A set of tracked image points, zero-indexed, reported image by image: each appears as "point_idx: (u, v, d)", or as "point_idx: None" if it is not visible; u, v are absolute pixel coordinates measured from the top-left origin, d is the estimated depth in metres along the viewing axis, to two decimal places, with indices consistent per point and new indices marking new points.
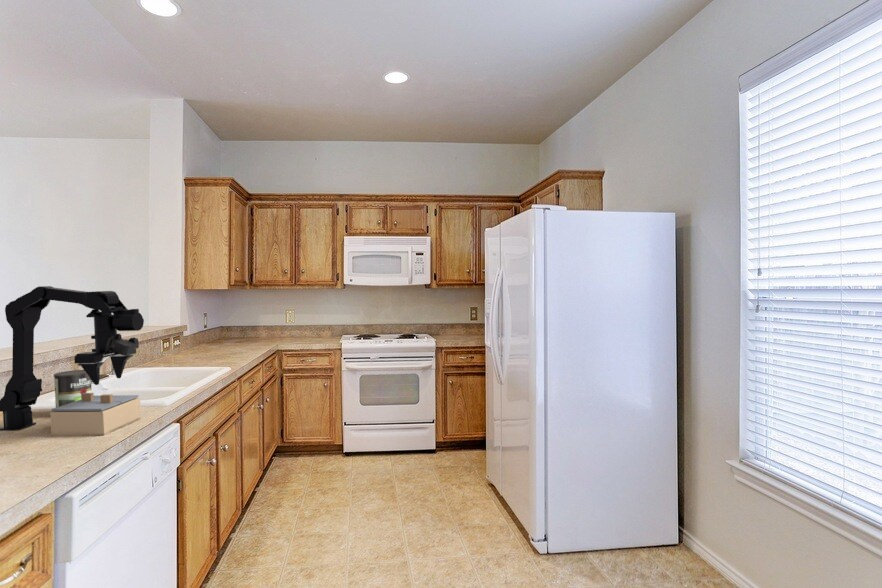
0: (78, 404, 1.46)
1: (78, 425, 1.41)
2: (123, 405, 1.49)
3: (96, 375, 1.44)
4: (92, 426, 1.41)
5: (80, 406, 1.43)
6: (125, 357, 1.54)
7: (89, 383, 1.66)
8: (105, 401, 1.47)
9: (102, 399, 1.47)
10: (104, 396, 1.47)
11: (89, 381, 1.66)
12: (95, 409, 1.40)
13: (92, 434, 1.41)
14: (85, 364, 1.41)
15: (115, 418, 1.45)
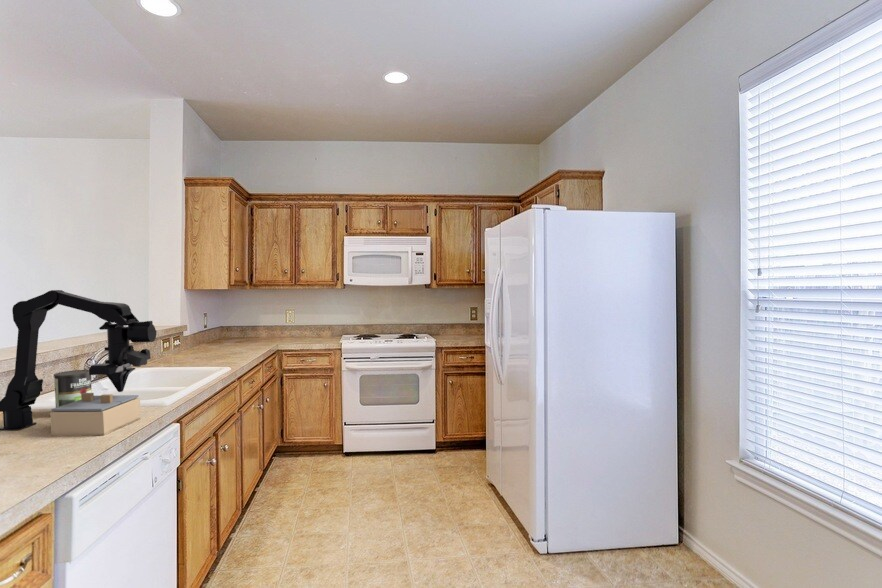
0: (78, 404, 1.46)
1: (78, 425, 1.41)
2: (123, 405, 1.49)
3: (120, 383, 1.52)
4: (92, 426, 1.41)
5: (80, 406, 1.43)
6: (127, 370, 1.54)
7: (89, 383, 1.66)
8: (105, 401, 1.47)
9: (102, 399, 1.47)
10: (104, 396, 1.47)
11: (89, 381, 1.66)
12: (95, 409, 1.40)
13: (92, 434, 1.41)
14: None
15: (115, 418, 1.45)
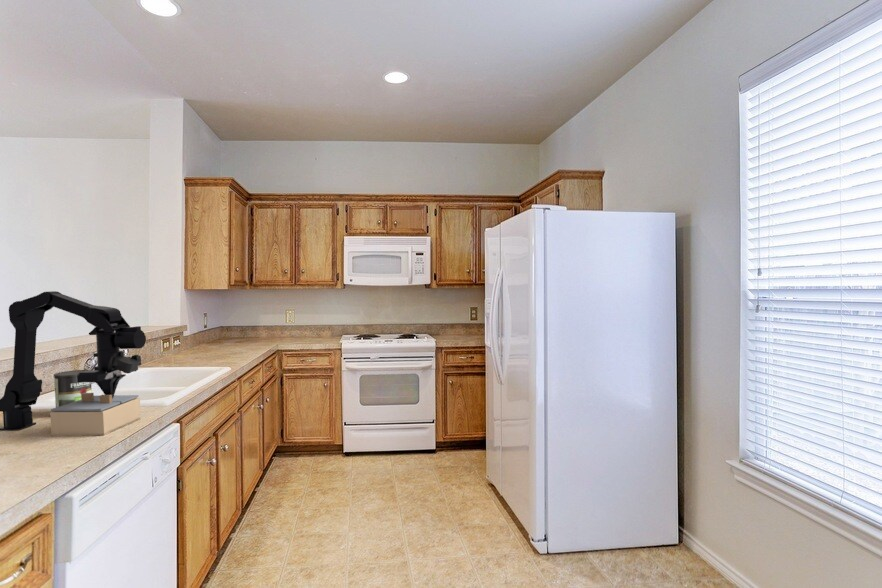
0: (77, 404, 1.45)
1: (78, 425, 1.41)
2: (123, 405, 1.49)
3: (109, 390, 1.47)
4: (92, 426, 1.41)
5: (79, 406, 1.43)
6: (117, 377, 1.49)
7: (89, 383, 1.66)
8: (104, 401, 1.46)
9: (101, 399, 1.46)
10: (103, 396, 1.46)
11: None
12: (94, 409, 1.40)
13: (92, 434, 1.41)
14: None
15: (115, 418, 1.45)
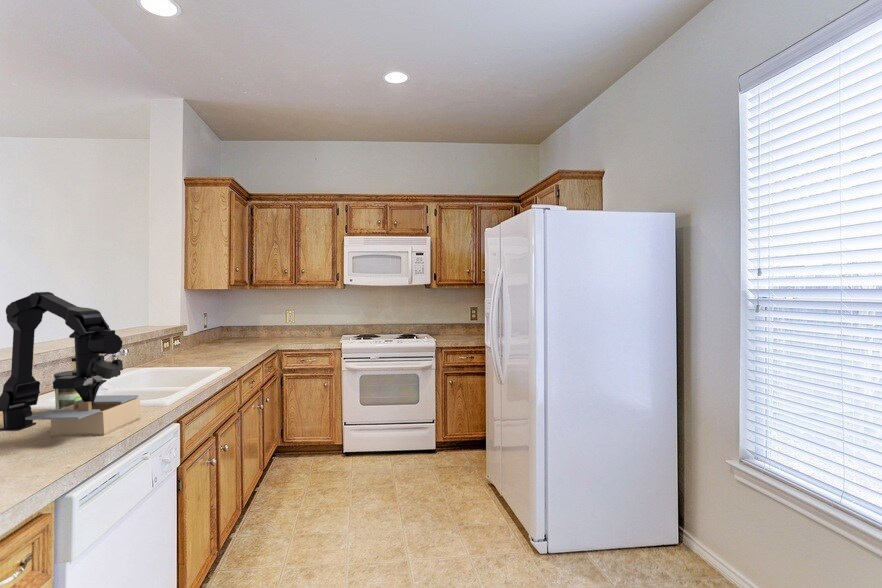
0: (54, 412, 1.37)
1: (78, 425, 1.41)
2: (123, 405, 1.49)
3: (89, 397, 1.39)
4: (92, 426, 1.41)
5: (56, 414, 1.35)
6: (97, 383, 1.41)
7: None
8: (83, 409, 1.38)
9: (80, 407, 1.38)
10: (82, 403, 1.38)
11: None
12: (71, 418, 1.32)
13: (92, 434, 1.41)
14: None
15: (115, 418, 1.45)
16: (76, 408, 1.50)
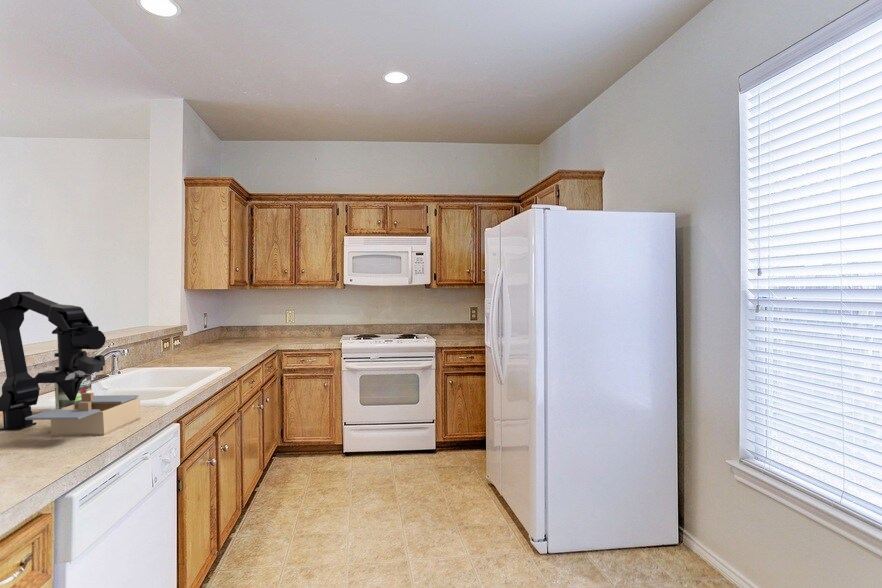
0: (54, 412, 1.37)
1: (78, 425, 1.41)
2: (123, 405, 1.49)
3: (71, 391, 1.43)
4: (92, 426, 1.41)
5: (56, 414, 1.35)
6: (80, 378, 1.45)
7: (89, 383, 1.66)
8: (83, 409, 1.38)
9: (80, 407, 1.38)
10: (82, 403, 1.38)
11: (89, 381, 1.66)
12: (71, 418, 1.32)
13: (92, 434, 1.41)
14: None
15: (115, 418, 1.45)
16: (76, 408, 1.50)
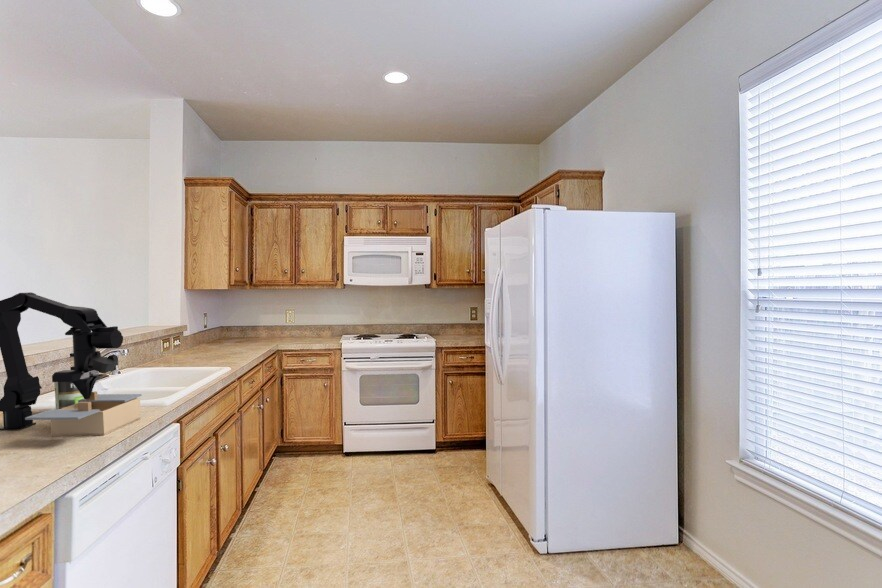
0: (54, 412, 1.37)
1: (78, 425, 1.41)
2: (123, 405, 1.49)
3: (86, 390, 1.48)
4: (92, 426, 1.41)
5: (56, 414, 1.35)
6: (94, 377, 1.50)
7: None
8: (83, 409, 1.38)
9: (80, 407, 1.38)
10: (82, 403, 1.38)
11: None
12: (71, 418, 1.32)
13: (92, 434, 1.41)
14: None
15: (115, 418, 1.45)
16: (76, 408, 1.50)
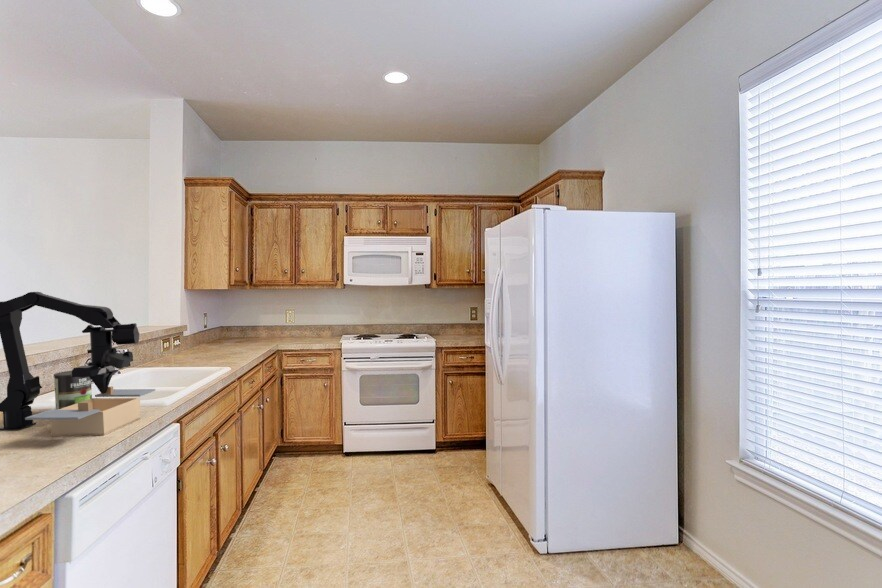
0: (54, 412, 1.37)
1: (78, 425, 1.41)
2: (123, 405, 1.49)
3: (103, 385, 1.55)
4: (92, 426, 1.41)
5: (56, 414, 1.35)
6: (110, 372, 1.57)
7: (89, 383, 1.66)
8: (83, 409, 1.38)
9: (80, 407, 1.38)
10: (82, 403, 1.38)
11: (89, 381, 1.66)
12: (71, 418, 1.32)
13: (92, 434, 1.41)
14: None
15: (115, 418, 1.45)
16: (76, 408, 1.50)
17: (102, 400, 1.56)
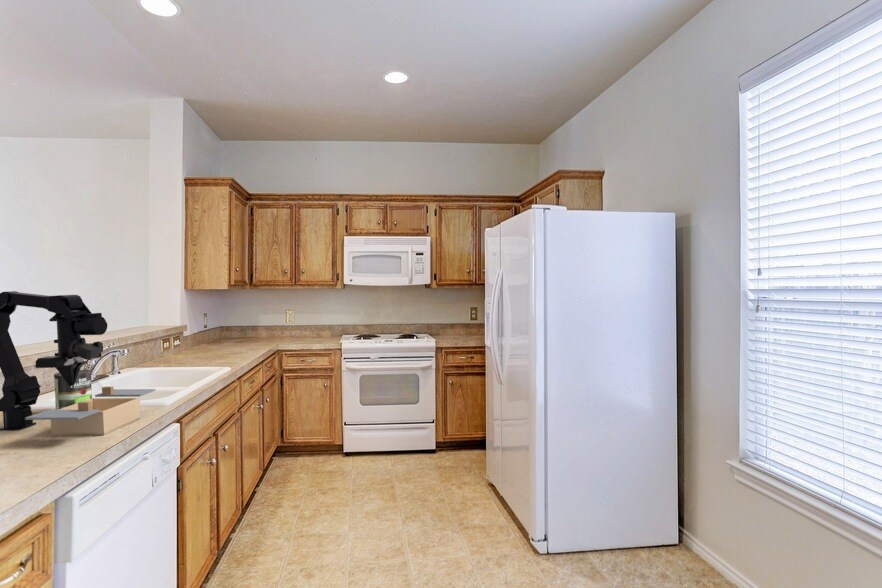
0: (54, 412, 1.37)
1: (78, 425, 1.41)
2: (123, 405, 1.49)
3: (70, 376, 1.47)
4: (92, 426, 1.41)
5: (56, 414, 1.35)
6: (79, 364, 1.49)
7: (89, 383, 1.66)
8: (83, 409, 1.38)
9: (80, 407, 1.38)
10: (82, 403, 1.38)
11: (89, 381, 1.66)
12: (71, 418, 1.32)
13: (92, 434, 1.41)
14: (59, 366, 1.45)
15: (115, 418, 1.45)
16: (76, 408, 1.50)
17: (102, 400, 1.56)
